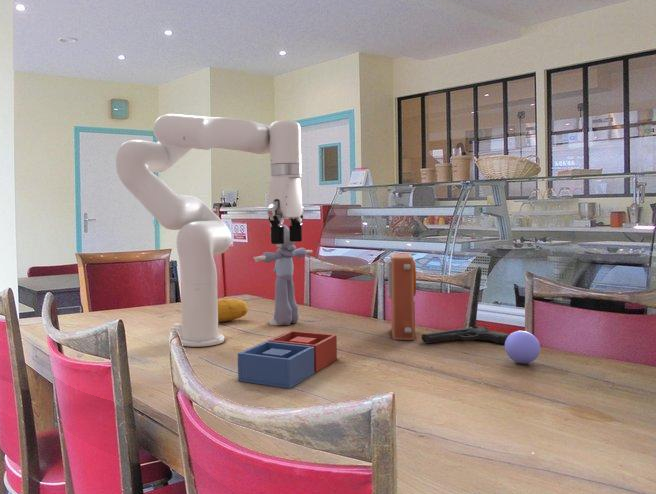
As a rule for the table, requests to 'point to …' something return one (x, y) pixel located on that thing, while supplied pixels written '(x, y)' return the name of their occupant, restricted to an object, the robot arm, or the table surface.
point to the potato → (231, 309)
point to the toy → (284, 279)
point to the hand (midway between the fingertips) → (287, 242)
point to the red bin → (322, 349)
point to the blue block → (278, 353)
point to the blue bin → (276, 365)
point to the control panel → (402, 295)
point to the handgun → (466, 335)
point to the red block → (304, 340)
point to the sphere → (522, 347)
